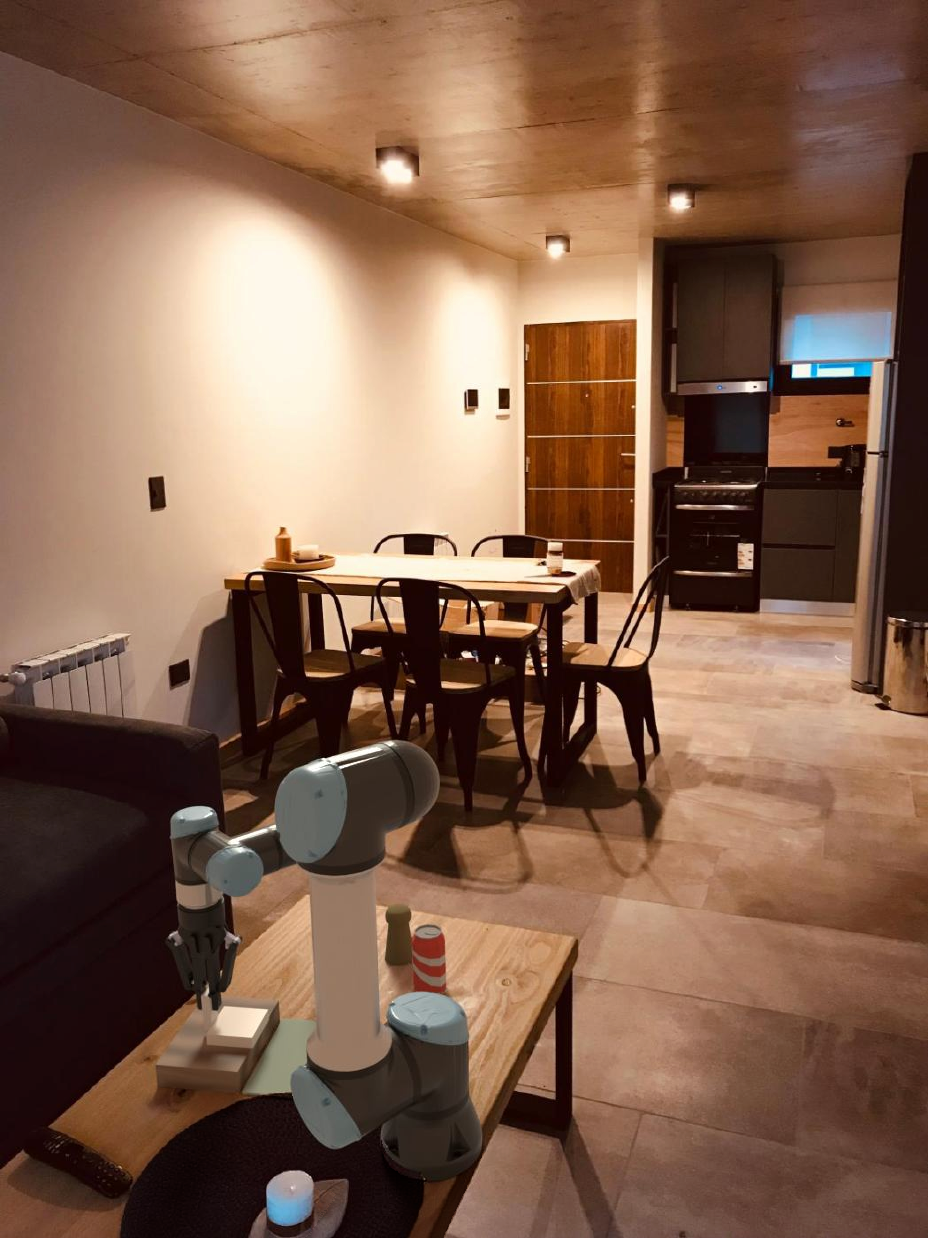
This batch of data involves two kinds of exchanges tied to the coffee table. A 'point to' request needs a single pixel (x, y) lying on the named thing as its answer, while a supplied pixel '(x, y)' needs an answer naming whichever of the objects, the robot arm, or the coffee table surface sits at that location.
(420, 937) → the beverage can
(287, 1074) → the mat
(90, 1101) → the coffee table surface
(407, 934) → the pepper mill
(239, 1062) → the tan flat block
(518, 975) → the coffee table surface
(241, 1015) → the coaster
